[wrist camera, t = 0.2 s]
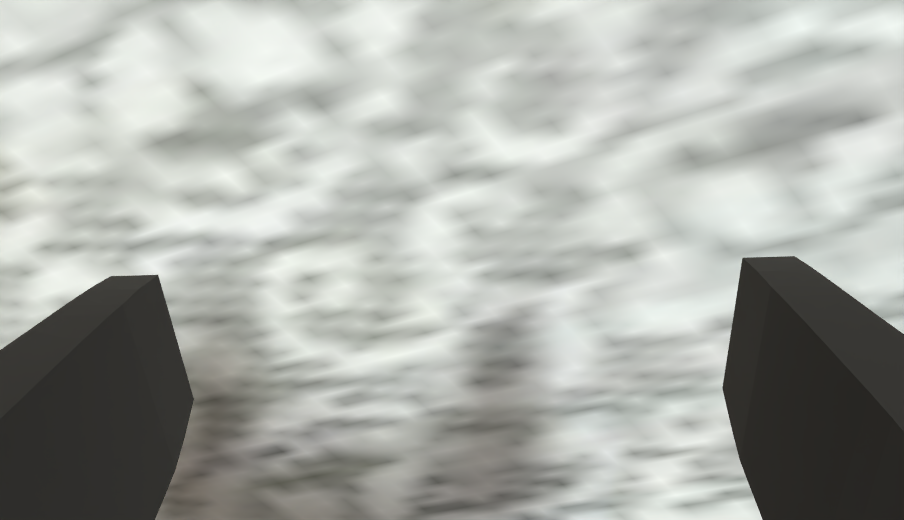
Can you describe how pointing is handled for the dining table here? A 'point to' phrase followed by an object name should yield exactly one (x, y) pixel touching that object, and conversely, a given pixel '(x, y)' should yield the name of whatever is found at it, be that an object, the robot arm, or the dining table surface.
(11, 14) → the dining table surface
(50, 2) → the dining table surface
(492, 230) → the dining table surface
